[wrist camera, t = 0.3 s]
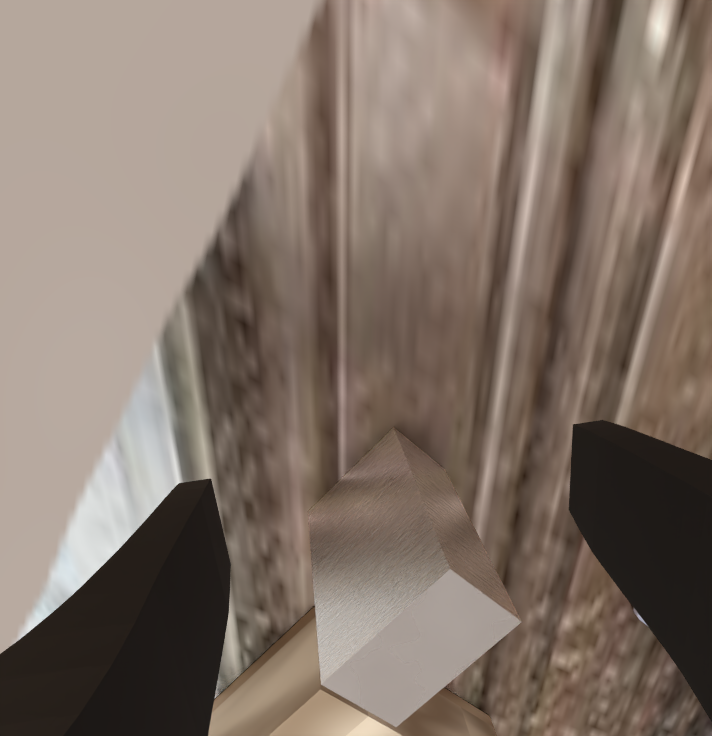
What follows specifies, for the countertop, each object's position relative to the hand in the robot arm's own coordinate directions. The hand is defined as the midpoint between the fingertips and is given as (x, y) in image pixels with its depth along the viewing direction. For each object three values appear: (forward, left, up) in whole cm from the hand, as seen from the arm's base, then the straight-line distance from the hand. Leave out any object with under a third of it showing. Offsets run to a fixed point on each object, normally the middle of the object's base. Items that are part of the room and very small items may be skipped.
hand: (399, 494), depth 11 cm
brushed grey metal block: (-5, +4, -10) cm, 12 cm away
